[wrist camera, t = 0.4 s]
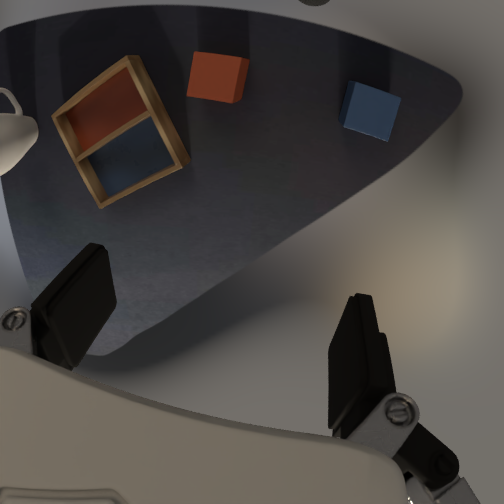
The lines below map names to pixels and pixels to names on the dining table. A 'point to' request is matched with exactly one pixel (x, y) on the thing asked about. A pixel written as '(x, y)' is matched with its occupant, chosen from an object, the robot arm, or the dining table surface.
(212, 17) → the dining table surface
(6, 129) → the mug
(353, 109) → the blue block
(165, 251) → the dining table surface
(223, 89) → the terracotta block
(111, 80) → the tray
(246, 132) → the dining table surface
